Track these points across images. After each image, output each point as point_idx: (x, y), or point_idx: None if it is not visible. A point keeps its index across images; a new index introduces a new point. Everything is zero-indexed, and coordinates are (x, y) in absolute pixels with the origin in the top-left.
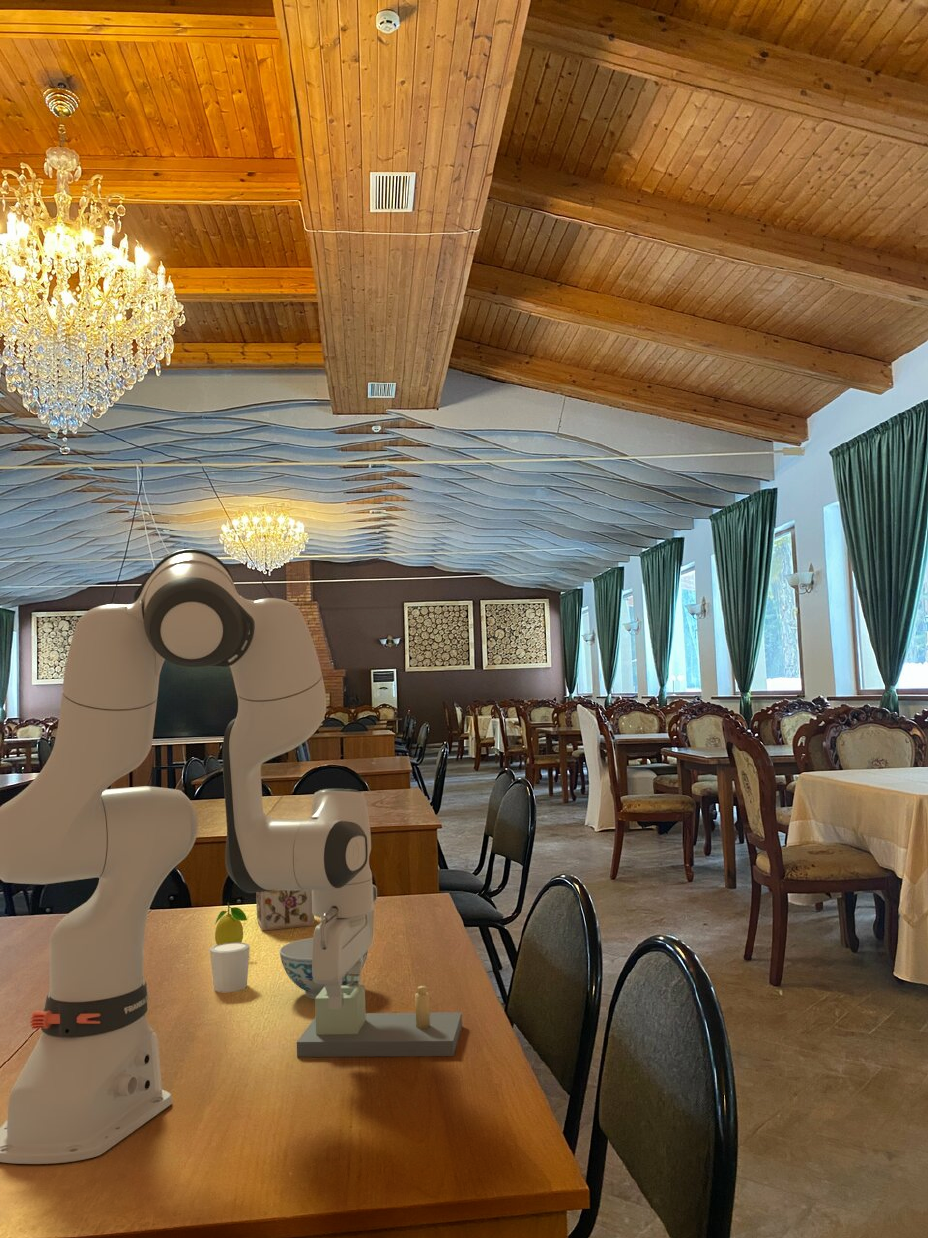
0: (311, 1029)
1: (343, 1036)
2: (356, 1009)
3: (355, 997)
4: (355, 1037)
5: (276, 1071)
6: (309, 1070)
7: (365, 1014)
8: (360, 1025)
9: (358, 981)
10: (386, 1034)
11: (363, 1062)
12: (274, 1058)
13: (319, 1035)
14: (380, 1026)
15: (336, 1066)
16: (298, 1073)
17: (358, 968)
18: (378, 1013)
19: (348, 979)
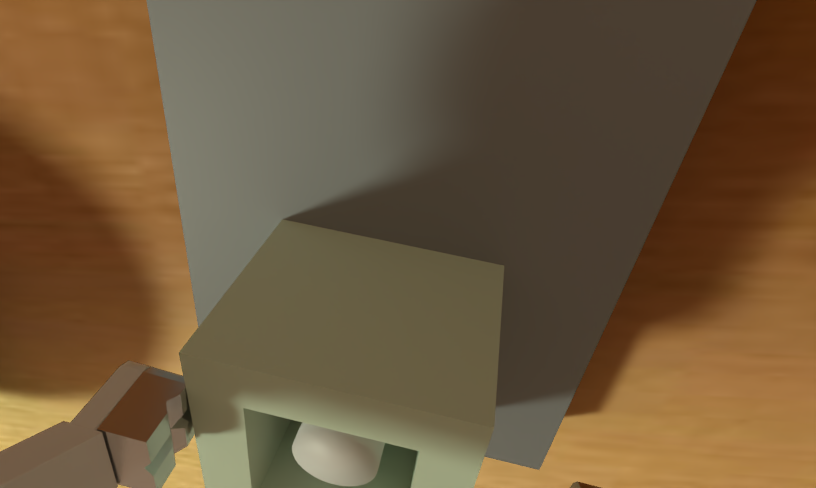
0: None
1: (523, 325)
2: (496, 363)
3: (481, 432)
4: (558, 277)
5: (659, 474)
6: (703, 397)
7: (273, 236)
8: (417, 258)
9: (159, 404)
10: (563, 109)
11: (711, 204)
12: (526, 469)
13: None
14: (398, 144)
15: (706, 313)
16: (717, 427)
17: (51, 474)
18: (176, 152)
19: (168, 467)
